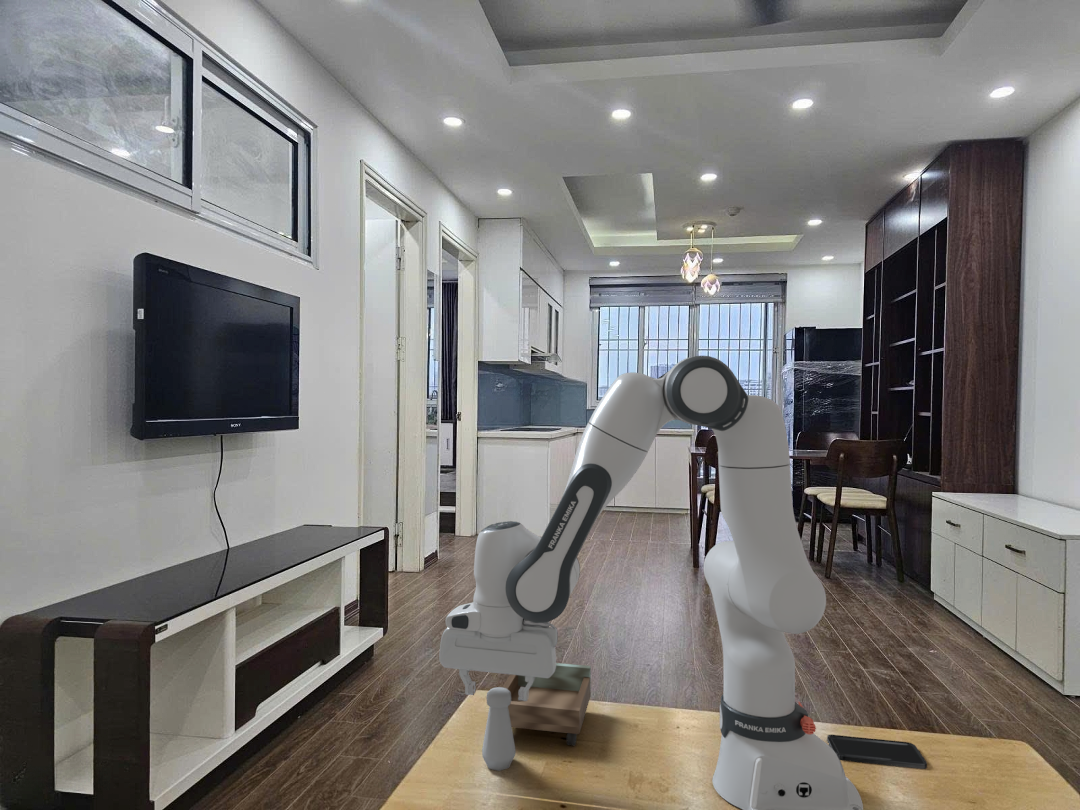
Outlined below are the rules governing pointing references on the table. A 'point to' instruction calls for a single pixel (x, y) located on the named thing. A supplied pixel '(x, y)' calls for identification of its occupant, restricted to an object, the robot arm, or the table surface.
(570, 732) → the open wooden tray
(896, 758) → the phone
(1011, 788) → the table surface
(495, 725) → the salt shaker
